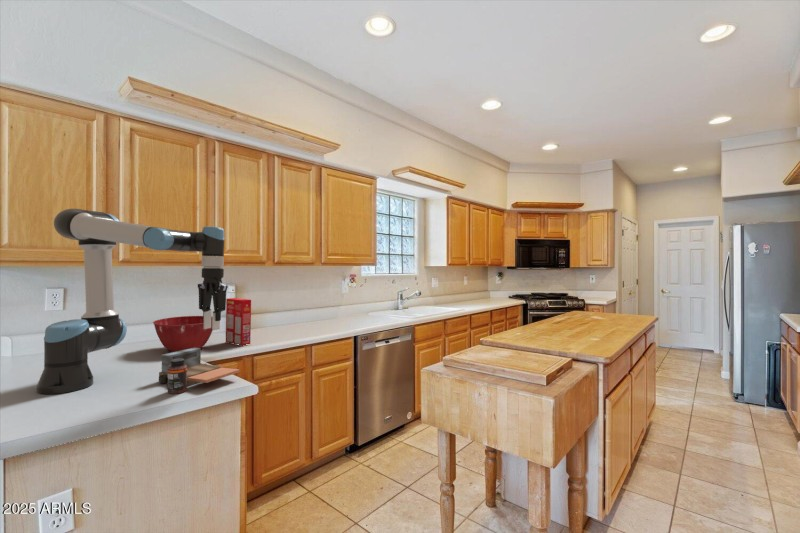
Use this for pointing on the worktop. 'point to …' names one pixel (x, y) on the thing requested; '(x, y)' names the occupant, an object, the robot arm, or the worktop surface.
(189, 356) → the flatbed
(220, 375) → the tailgate
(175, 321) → the mixing bowl
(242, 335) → the food packaging
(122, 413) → the worktop surface
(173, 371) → the supplement bottle
